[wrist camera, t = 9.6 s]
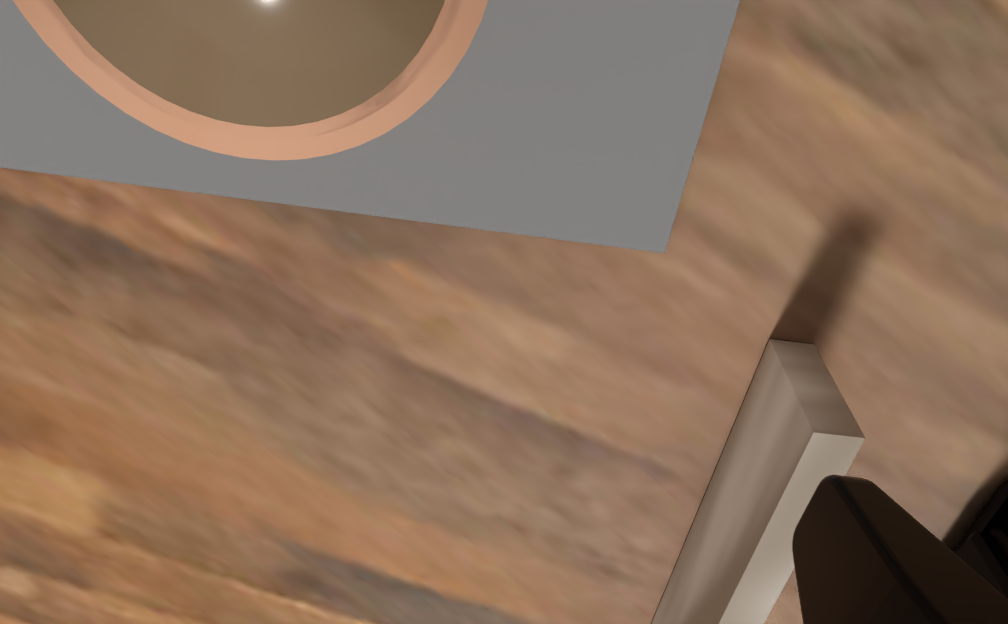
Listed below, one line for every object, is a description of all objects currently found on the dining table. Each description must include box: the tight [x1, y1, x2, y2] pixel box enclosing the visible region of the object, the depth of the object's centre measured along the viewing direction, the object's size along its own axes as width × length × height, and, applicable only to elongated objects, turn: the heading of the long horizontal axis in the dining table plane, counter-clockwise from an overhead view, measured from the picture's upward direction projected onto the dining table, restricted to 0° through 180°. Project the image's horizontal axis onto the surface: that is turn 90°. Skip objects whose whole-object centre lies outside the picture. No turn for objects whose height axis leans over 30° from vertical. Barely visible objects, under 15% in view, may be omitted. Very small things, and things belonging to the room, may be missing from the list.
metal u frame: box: [651, 339, 865, 624], centre depth 24 cm, size 25×22×4 cm
